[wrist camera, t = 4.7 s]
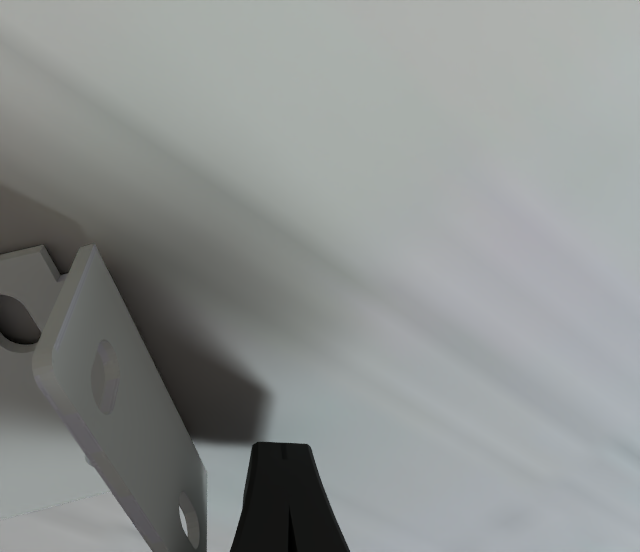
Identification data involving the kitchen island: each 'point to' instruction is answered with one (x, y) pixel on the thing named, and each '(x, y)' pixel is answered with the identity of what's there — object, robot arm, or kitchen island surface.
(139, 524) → the bracket
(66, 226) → the kitchen island surface
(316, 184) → the kitchen island surface
